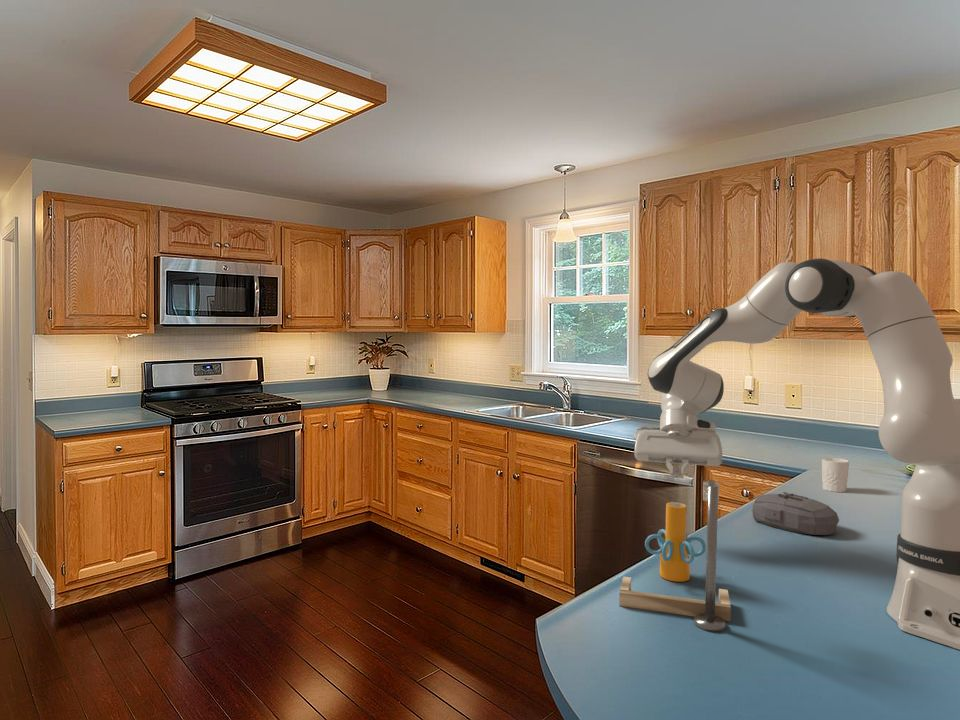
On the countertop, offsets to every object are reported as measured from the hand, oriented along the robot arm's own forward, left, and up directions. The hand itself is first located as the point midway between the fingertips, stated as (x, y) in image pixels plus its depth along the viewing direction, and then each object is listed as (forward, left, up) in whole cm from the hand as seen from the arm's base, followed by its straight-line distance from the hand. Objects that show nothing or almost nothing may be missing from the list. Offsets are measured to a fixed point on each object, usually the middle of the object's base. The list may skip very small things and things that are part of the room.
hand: (676, 476), depth 145 cm
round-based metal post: (-30, +22, -17) cm, 41 cm away
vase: (-13, +13, -17) cm, 25 cm away
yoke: (-23, +23, -17) cm, 37 cm away
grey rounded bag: (-1, -42, -17) cm, 45 cm away
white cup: (+20, -90, -17) cm, 93 cm away
